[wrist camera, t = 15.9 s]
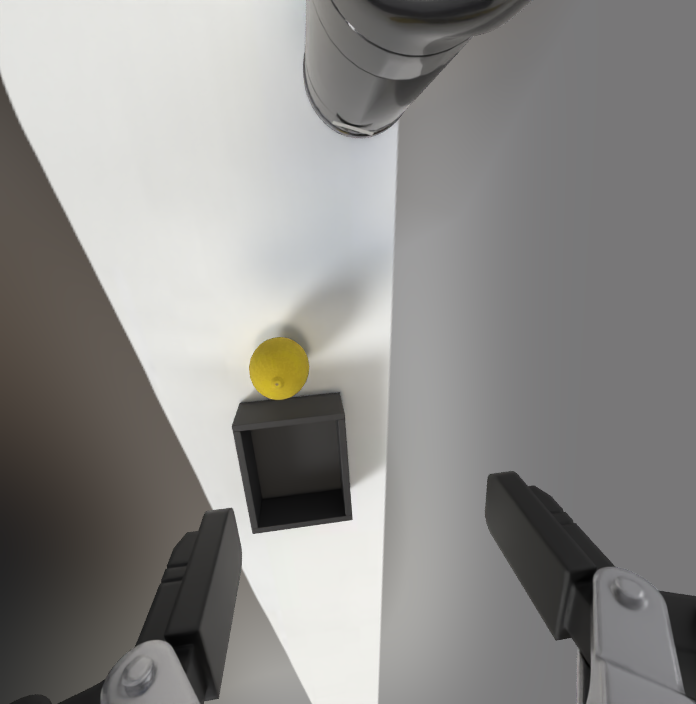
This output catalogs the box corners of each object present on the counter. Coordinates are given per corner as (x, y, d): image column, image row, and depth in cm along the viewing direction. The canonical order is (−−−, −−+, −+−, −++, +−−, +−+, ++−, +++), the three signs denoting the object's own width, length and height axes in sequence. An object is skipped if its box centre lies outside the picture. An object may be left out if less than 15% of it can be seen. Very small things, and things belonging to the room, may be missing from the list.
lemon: (310, 330, 38) (312, 356, 31) (306, 379, 40) (307, 415, 33) (255, 325, 38) (244, 351, 30) (253, 376, 39) (242, 412, 32)
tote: (239, 403, 40) (231, 425, 36) (339, 392, 41) (344, 413, 37) (257, 502, 45) (252, 534, 40) (347, 490, 46) (352, 520, 41)
